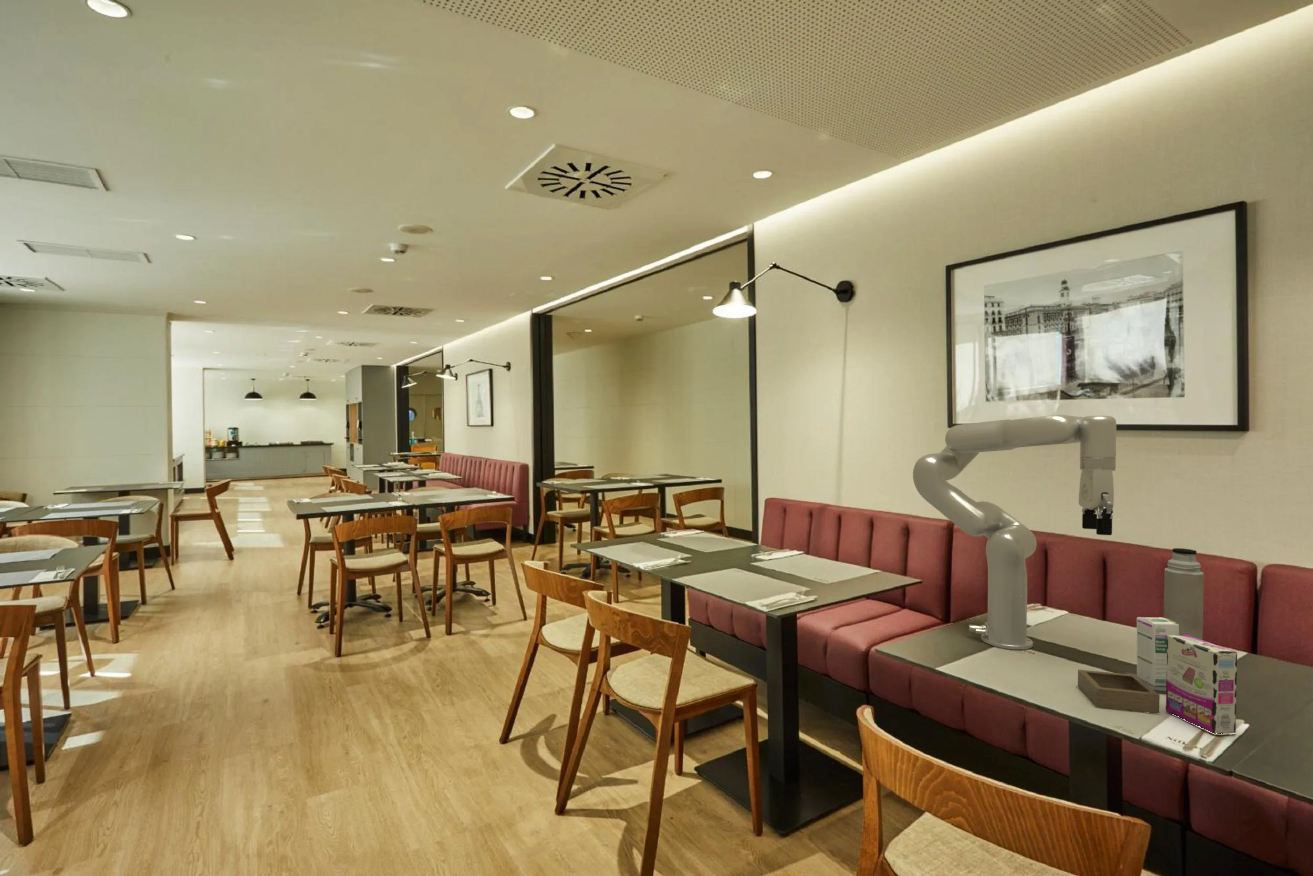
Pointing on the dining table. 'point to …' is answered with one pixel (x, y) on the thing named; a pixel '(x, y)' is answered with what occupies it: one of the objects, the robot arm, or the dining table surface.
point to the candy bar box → (1201, 683)
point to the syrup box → (1153, 648)
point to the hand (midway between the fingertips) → (1096, 531)
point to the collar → (1118, 691)
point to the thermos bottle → (1184, 592)
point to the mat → (1156, 688)
